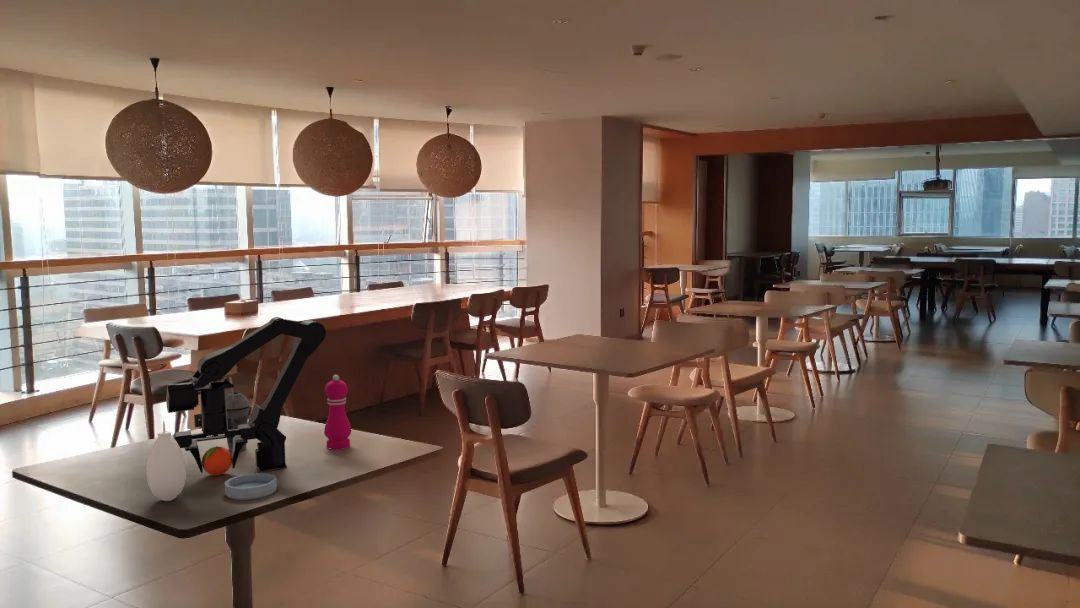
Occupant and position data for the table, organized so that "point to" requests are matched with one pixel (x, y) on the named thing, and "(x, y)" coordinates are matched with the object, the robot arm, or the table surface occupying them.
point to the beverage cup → (236, 413)
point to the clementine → (217, 460)
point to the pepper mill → (337, 415)
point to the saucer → (251, 486)
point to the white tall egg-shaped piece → (166, 467)
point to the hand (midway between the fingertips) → (217, 470)
